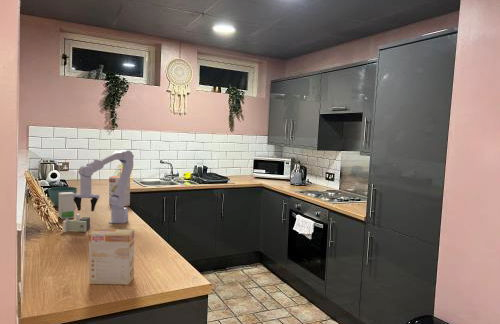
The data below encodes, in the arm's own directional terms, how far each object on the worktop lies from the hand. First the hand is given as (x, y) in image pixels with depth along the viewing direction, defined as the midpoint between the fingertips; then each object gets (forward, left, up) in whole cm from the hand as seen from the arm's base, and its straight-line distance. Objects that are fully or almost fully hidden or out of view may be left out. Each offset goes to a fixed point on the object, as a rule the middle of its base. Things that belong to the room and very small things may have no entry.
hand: (86, 210), depth 209 cm
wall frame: (+8, +1, -10) cm, 12 cm away
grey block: (0, +2, -10) cm, 10 cm away
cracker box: (+2, -60, -10) cm, 61 cm away
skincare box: (+22, -21, -10) cm, 32 cm away
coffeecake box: (-40, +69, -10) cm, 81 cm away
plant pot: (+40, -52, -10) cm, 66 cm away
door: (+1, +8, -9) cm, 13 cm away
